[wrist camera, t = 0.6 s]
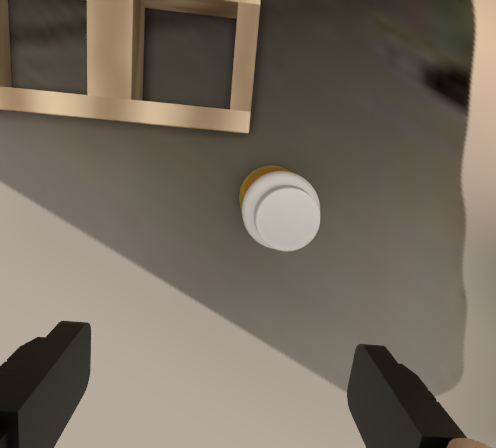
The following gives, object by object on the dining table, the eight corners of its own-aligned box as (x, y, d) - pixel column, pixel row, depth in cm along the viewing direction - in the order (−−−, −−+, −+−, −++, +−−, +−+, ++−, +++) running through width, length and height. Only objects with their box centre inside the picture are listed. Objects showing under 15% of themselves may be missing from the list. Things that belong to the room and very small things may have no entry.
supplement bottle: (226, 186, 31) (225, 207, 21) (280, 152, 30) (303, 157, 21) (259, 237, 32) (273, 278, 23) (312, 205, 32) (347, 232, 22)
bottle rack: (-7, 109, 28) (-39, 105, 25) (-16, -35, 26) (-52, -61, 23) (246, 133, 30) (248, 132, 26) (258, -1, 28) (262, -20, 24)
